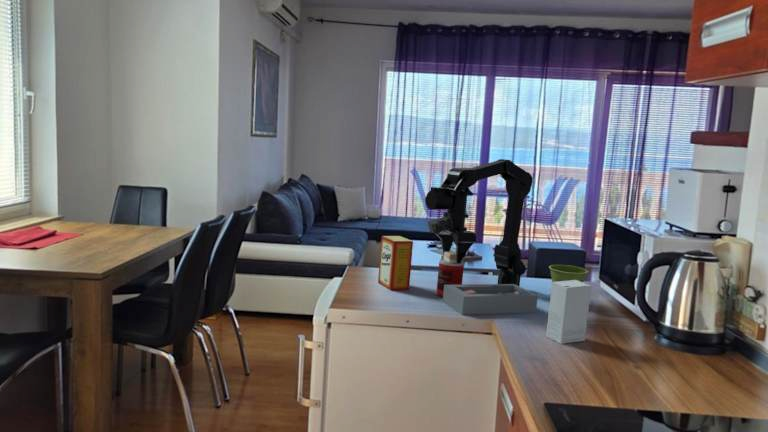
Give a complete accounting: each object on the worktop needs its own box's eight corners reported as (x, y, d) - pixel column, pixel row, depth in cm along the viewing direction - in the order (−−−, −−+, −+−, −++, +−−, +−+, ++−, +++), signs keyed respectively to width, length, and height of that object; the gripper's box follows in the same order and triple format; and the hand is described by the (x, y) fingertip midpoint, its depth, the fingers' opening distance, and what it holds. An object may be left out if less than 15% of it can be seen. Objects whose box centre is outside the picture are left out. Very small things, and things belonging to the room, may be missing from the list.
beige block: (456, 259, 191) (457, 251, 191) (462, 262, 187) (463, 254, 187) (443, 259, 190) (444, 251, 189) (449, 262, 186) (449, 254, 186)
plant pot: (548, 296, 199) (552, 262, 198) (586, 303, 194) (590, 268, 193) (541, 304, 188) (545, 268, 187) (581, 311, 183) (585, 274, 182)
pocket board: (512, 300, 190) (514, 284, 189) (535, 312, 178) (537, 295, 177) (442, 301, 182) (444, 284, 181) (462, 314, 170) (463, 296, 169)
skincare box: (569, 334, 159) (576, 279, 158) (586, 342, 154) (593, 285, 152) (544, 336, 156) (550, 280, 154) (560, 344, 150) (567, 286, 148)
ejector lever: (515, 294, 184) (515, 283, 184) (521, 297, 181) (521, 286, 181) (461, 302, 178) (460, 291, 178) (466, 305, 176) (465, 294, 175)
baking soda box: (378, 282, 199) (381, 234, 197) (395, 282, 202) (399, 234, 200) (390, 290, 191) (394, 240, 189) (408, 289, 193) (413, 240, 191)
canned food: (460, 293, 193) (463, 259, 192) (461, 300, 185) (464, 265, 184) (436, 291, 194) (439, 257, 193) (436, 297, 186) (439, 262, 185)
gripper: (420, 204, 192) (416, 253, 194) (445, 213, 175) (440, 266, 177) (452, 206, 196) (448, 253, 198) (480, 214, 179) (474, 266, 181)
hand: (451, 259), depth 188 cm, fingers open, 9 cm apart
